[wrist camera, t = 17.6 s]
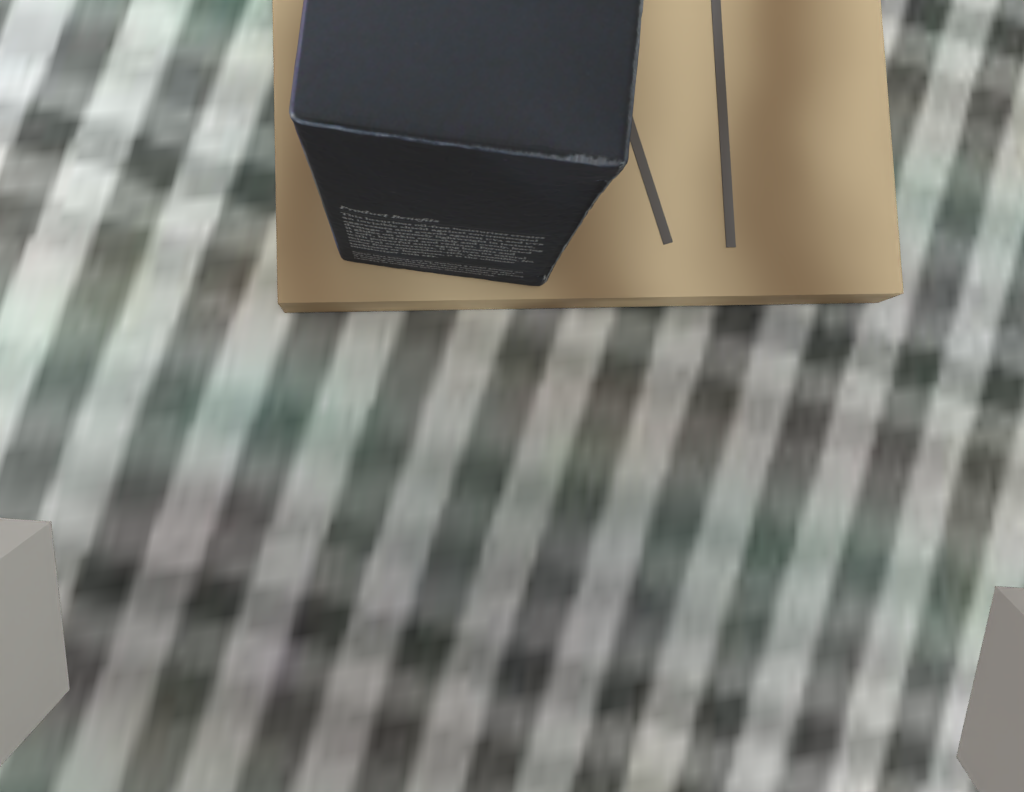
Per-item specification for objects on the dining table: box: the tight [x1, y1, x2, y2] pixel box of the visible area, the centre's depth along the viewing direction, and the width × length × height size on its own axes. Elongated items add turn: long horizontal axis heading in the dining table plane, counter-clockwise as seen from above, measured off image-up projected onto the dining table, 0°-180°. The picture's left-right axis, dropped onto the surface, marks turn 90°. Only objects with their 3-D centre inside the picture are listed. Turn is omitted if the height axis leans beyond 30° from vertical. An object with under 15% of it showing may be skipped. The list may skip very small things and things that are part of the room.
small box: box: [289, 0, 644, 286], centre depth 21 cm, size 11×6×10 cm, turn 174°
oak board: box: [273, 0, 903, 313], centre depth 27 cm, size 19×12×2 cm, turn 92°
